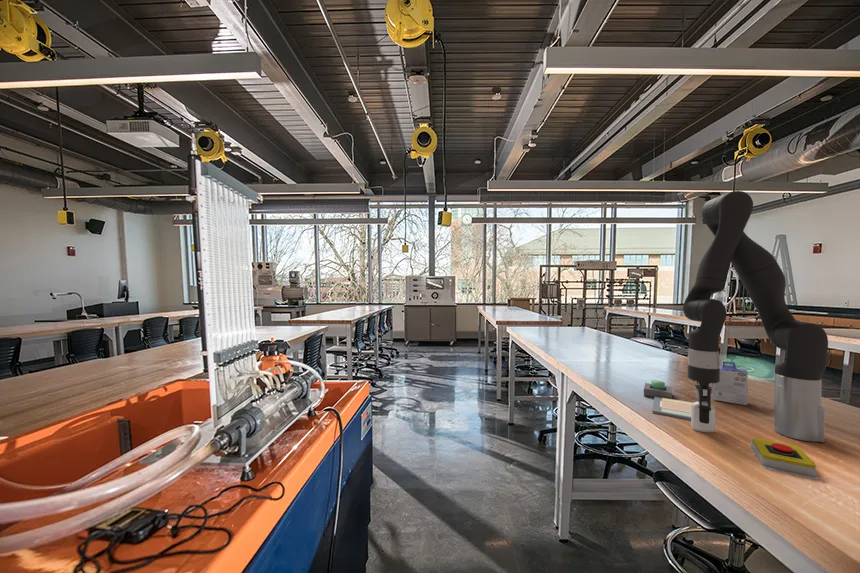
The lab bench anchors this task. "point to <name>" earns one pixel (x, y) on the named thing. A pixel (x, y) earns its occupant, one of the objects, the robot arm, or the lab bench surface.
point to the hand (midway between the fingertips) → (703, 418)
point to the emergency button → (783, 458)
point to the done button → (657, 385)
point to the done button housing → (657, 392)
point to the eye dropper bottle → (696, 423)
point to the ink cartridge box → (731, 385)
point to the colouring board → (672, 407)
